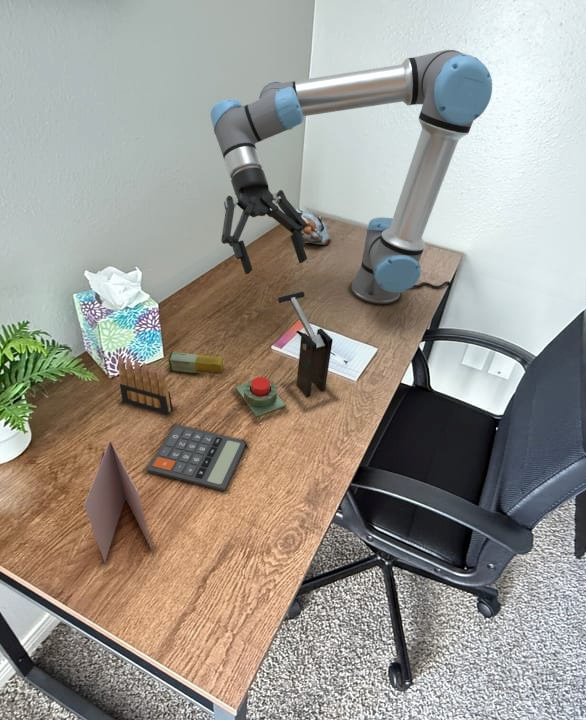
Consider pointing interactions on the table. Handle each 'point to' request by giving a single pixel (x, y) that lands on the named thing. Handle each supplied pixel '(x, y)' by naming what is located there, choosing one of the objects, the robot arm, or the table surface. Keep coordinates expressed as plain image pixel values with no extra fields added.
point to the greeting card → (112, 499)
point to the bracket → (313, 363)
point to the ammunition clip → (144, 387)
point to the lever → (303, 318)
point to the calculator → (198, 457)
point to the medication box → (194, 363)
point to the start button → (260, 386)
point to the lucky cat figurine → (314, 229)
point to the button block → (261, 399)
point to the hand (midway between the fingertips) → (277, 266)
